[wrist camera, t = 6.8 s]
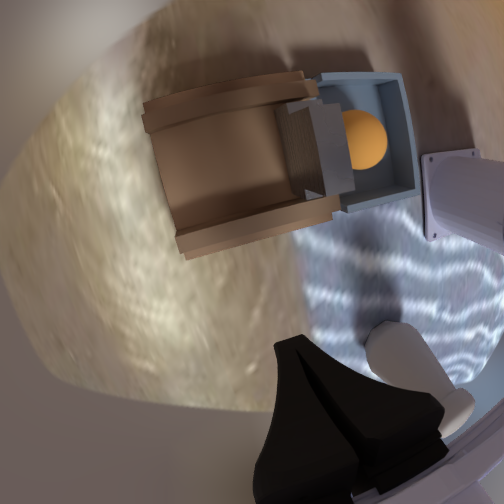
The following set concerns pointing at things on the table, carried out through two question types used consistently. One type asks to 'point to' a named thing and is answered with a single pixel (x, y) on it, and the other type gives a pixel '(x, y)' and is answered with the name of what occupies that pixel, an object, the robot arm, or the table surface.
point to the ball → (364, 138)
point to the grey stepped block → (315, 148)
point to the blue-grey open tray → (397, 130)
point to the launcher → (230, 162)
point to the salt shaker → (416, 370)
